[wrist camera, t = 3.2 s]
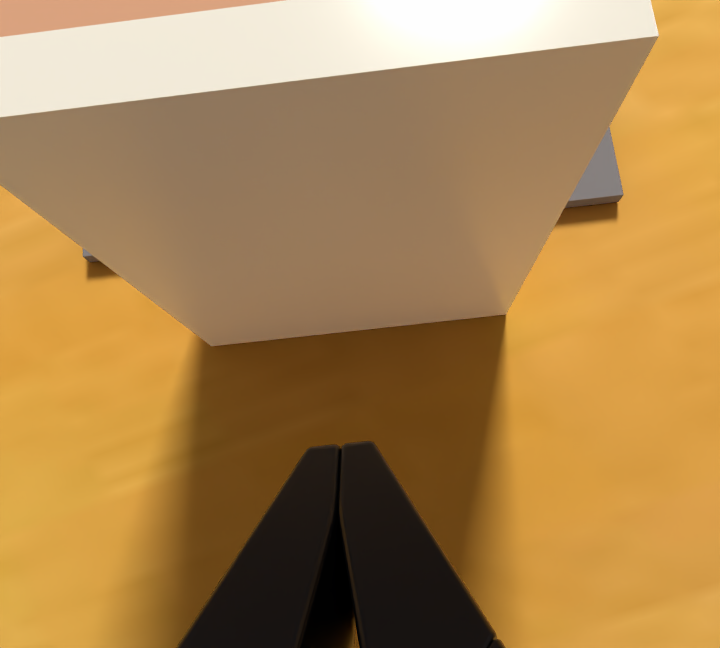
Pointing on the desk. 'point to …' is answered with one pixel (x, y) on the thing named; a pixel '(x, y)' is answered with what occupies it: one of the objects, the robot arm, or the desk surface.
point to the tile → (311, 147)
